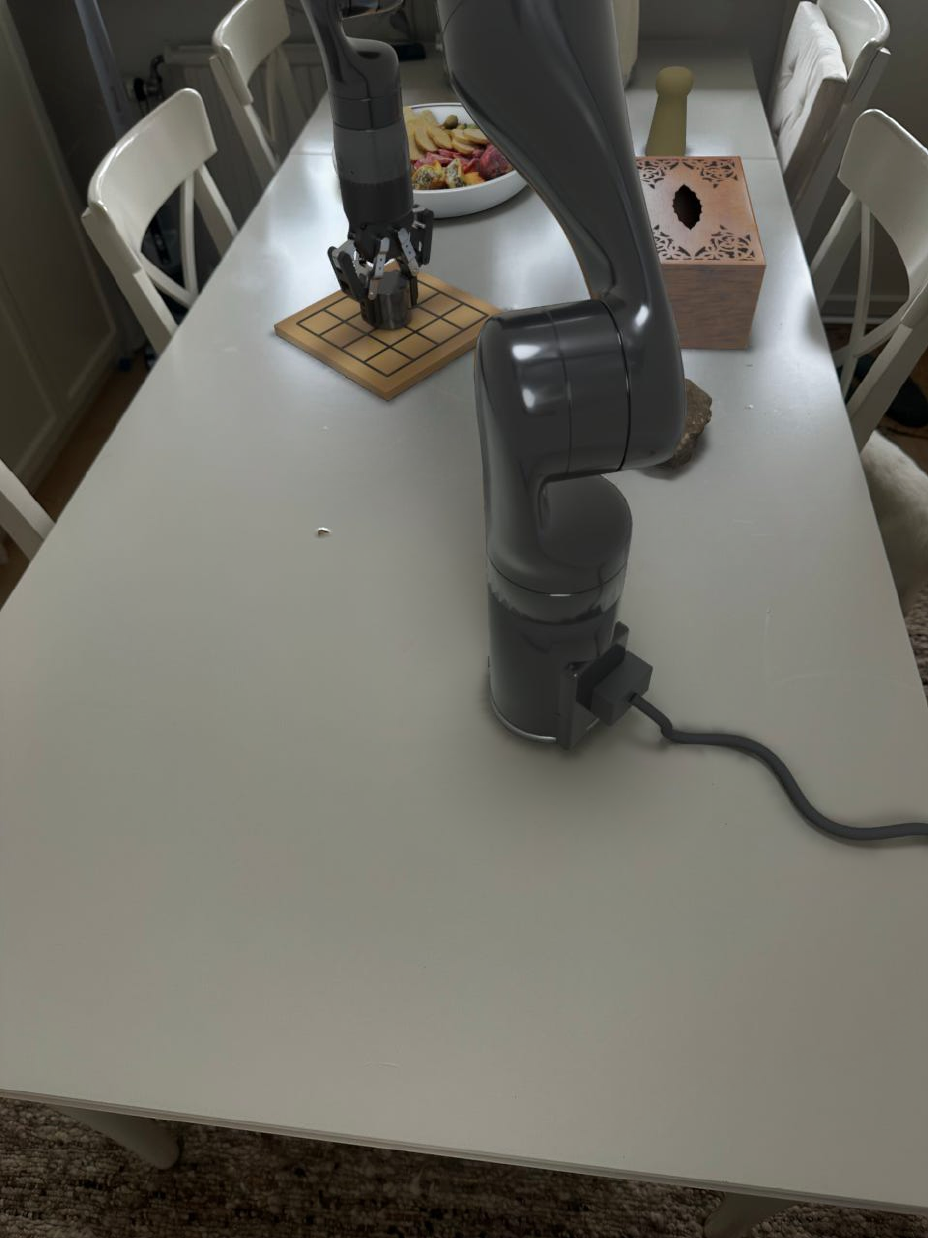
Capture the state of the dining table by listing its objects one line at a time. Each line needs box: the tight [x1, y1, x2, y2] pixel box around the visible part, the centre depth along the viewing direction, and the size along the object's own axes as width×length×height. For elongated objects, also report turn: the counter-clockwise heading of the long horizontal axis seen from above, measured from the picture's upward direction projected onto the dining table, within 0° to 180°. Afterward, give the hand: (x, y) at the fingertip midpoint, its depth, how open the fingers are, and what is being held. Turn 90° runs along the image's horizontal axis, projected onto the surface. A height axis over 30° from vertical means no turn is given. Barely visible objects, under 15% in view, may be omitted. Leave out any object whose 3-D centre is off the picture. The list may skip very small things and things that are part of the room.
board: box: [273, 260, 506, 402], centre depth 102 cm, size 20×20×1 cm
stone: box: [653, 377, 713, 470], centre depth 86 cm, size 10×14×6 cm
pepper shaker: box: [644, 65, 694, 156], centre depth 125 cm, size 6×6×11 cm
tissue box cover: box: [635, 155, 767, 350], centre depth 102 cm, size 26×14×10 cm, turn 175°
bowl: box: [331, 102, 528, 219], centre depth 124 cm, size 30×30×8 cm
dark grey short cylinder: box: [366, 271, 413, 330], centre depth 100 cm, size 5×5×4 cm
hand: (391, 313), depth 101 cm, fingers closed on dark grey short cylinder, 5 cm apart
